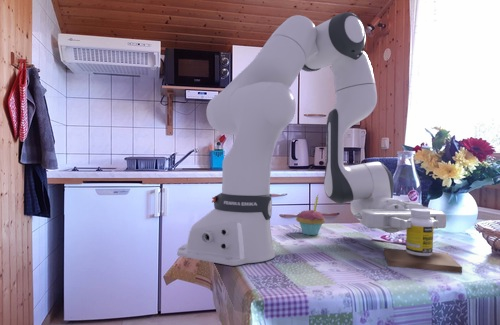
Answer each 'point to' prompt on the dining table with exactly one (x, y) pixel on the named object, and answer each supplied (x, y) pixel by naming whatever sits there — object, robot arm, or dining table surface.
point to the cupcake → (311, 220)
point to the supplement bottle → (420, 233)
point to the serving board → (421, 260)
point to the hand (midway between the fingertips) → (422, 225)
